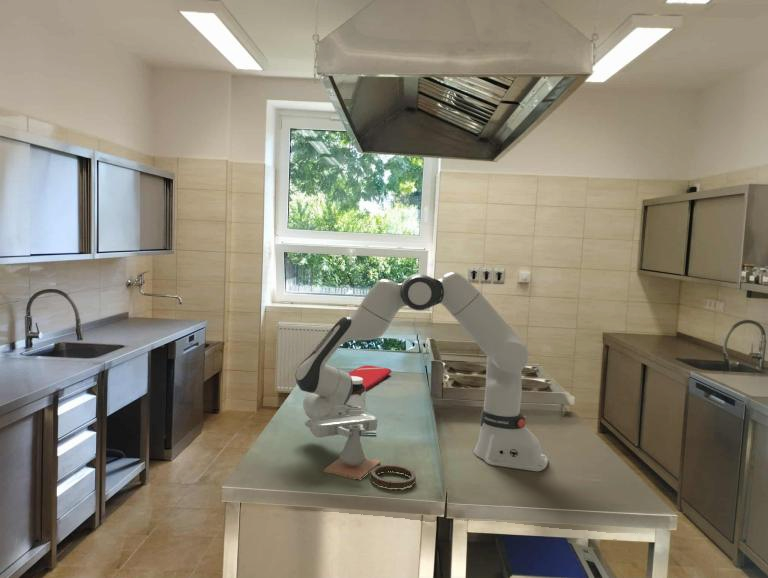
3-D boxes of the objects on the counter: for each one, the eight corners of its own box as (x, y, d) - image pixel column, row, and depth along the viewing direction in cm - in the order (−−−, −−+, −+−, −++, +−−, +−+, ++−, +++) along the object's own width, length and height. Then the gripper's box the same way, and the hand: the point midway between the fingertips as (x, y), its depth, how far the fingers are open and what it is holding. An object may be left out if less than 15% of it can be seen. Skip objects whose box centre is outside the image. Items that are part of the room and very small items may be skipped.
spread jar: (351, 403, 237) (354, 374, 236) (375, 410, 230) (377, 380, 229) (331, 410, 227) (333, 379, 226) (355, 417, 221) (357, 385, 219)
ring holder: (420, 477, 172) (421, 470, 171) (405, 493, 161) (406, 486, 160) (381, 468, 176) (381, 461, 176) (363, 483, 165) (364, 476, 165)
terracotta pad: (380, 463, 179) (380, 461, 179) (360, 480, 166) (360, 477, 166) (346, 455, 184) (346, 453, 183) (324, 471, 171) (324, 468, 171)
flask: (370, 461, 175) (373, 427, 174) (352, 467, 170) (355, 432, 169) (351, 454, 180) (354, 420, 179) (334, 459, 174) (336, 425, 173)
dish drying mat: (323, 390, 254) (324, 381, 254) (360, 371, 293) (361, 363, 292) (358, 396, 249) (359, 387, 249) (392, 376, 287) (392, 368, 287)
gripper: (303, 411, 179) (323, 426, 167) (364, 405, 190) (387, 419, 178) (301, 432, 180) (322, 449, 168) (362, 425, 191) (386, 440, 179)
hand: (356, 433), depth 173 cm, fingers open, 3 cm apart
